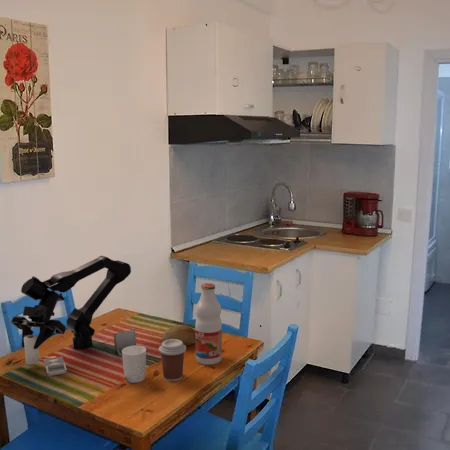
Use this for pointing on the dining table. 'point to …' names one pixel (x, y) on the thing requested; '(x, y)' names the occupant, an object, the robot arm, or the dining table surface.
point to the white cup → (134, 363)
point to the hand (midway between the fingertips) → (28, 347)
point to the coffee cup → (172, 359)
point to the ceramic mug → (124, 340)
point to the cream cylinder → (31, 350)
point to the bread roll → (180, 334)
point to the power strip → (55, 366)
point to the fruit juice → (208, 327)
